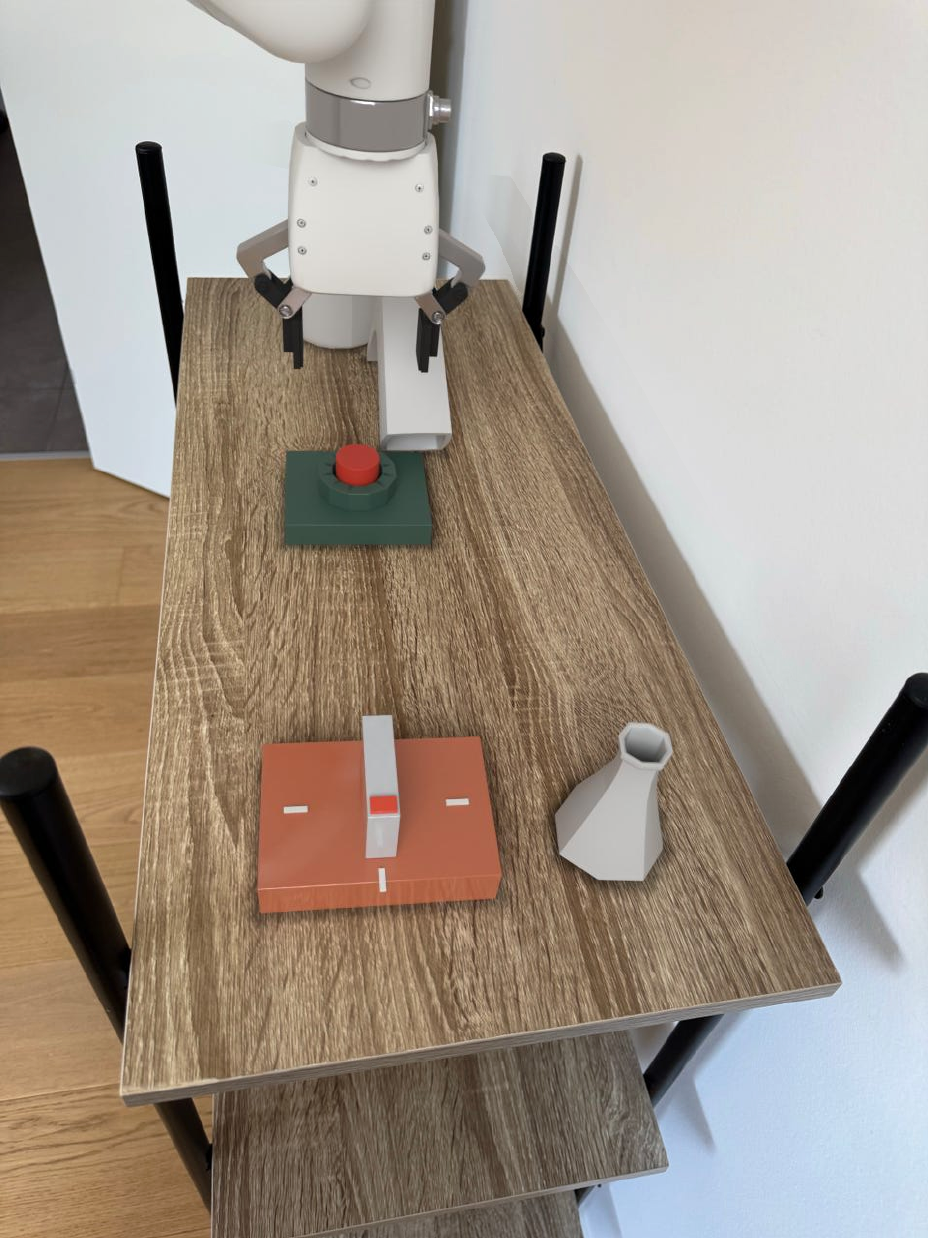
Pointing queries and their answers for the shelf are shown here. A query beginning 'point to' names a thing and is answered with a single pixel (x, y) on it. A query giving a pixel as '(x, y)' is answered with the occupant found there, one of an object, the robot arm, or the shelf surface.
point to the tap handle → (379, 787)
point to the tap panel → (334, 827)
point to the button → (357, 464)
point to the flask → (618, 809)
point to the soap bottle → (337, 320)
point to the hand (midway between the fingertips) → (360, 360)
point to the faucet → (407, 381)
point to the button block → (356, 502)
